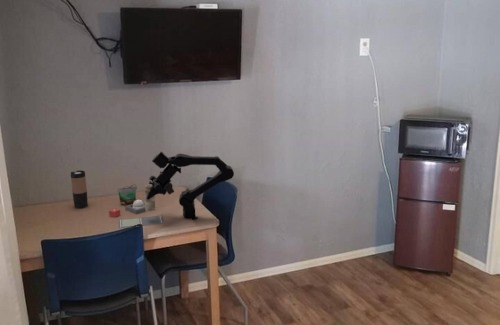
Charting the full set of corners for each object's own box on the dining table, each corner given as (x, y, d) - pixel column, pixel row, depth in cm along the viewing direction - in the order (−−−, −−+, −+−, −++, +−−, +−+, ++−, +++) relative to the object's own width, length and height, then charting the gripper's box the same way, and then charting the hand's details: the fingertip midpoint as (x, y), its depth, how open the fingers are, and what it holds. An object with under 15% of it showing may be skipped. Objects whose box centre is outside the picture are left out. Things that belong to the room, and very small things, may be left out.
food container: (125, 207, 264) (123, 190, 262) (118, 205, 268) (116, 188, 265) (142, 201, 274) (141, 185, 271) (135, 199, 277) (134, 183, 275)
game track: (161, 217, 248) (161, 215, 248) (164, 225, 237) (163, 223, 237) (118, 221, 243) (118, 219, 242) (118, 230, 232) (118, 227, 231)
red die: (120, 216, 250) (119, 208, 249) (115, 219, 246) (114, 211, 245) (114, 215, 251) (113, 207, 250) (109, 218, 248) (108, 210, 247)
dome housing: (152, 211, 258) (152, 205, 257) (135, 215, 251) (135, 210, 250) (141, 206, 265) (141, 201, 264) (125, 211, 258) (125, 206, 257)
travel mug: (85, 208, 263) (82, 174, 258) (71, 208, 263) (68, 174, 258) (90, 204, 270) (86, 170, 265) (77, 204, 270) (73, 170, 265)
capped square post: (153, 207, 242) (152, 183, 239) (155, 210, 238) (153, 185, 235) (145, 208, 241) (143, 184, 238) (146, 211, 237) (144, 186, 234)
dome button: (147, 210, 258) (146, 199, 256) (137, 213, 253) (136, 202, 252) (140, 207, 262) (139, 197, 260) (130, 210, 258) (129, 199, 256)
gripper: (182, 188, 233) (161, 212, 232) (175, 179, 250) (155, 201, 249) (166, 175, 229) (144, 199, 228) (159, 166, 246) (139, 188, 245)
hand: (146, 197), depth 237 cm, fingers closed on capped square post, 4 cm apart
